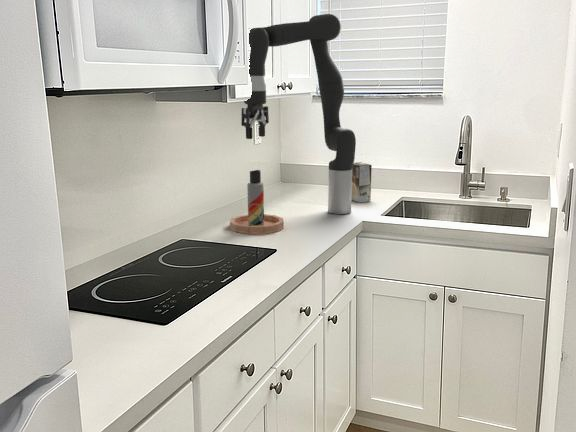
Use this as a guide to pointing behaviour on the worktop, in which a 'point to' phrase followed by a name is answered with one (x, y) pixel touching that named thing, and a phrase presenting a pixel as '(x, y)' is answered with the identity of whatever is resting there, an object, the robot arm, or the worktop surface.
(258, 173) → the lotion bottle
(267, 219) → the round tray
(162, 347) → the worktop surface
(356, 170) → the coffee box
